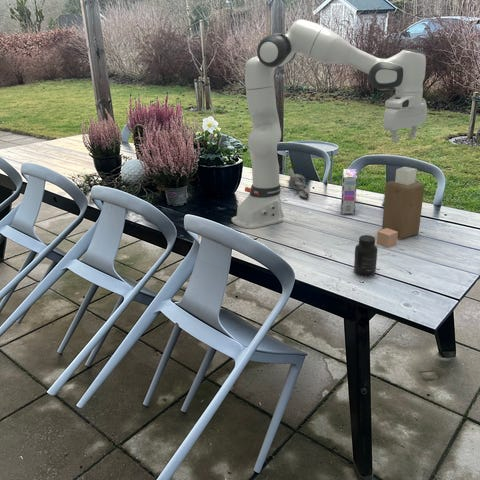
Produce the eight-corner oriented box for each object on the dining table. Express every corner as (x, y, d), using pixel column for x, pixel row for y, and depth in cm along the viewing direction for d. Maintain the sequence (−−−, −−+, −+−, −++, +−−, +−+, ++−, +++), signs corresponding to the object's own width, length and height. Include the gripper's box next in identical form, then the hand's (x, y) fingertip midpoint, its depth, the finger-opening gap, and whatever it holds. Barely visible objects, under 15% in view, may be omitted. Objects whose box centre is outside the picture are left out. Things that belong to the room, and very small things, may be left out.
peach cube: (387, 248, 166) (389, 235, 164) (376, 244, 170) (377, 231, 168) (396, 244, 169) (398, 231, 167) (385, 240, 172) (386, 227, 170)
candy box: (355, 215, 197) (357, 177, 191) (340, 214, 199) (342, 176, 192) (354, 204, 210) (356, 168, 203) (341, 203, 211) (342, 168, 204)
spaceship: (298, 164, 246) (285, 160, 244) (318, 191, 216) (303, 186, 213) (292, 178, 249) (279, 174, 247) (311, 206, 219) (296, 201, 217)
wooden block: (399, 240, 172) (405, 188, 164) (380, 231, 180) (384, 181, 172) (419, 234, 176) (426, 183, 168) (399, 226, 184) (405, 177, 176)
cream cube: (407, 185, 167) (408, 171, 165) (395, 182, 170) (396, 169, 168) (415, 182, 169) (416, 169, 167) (403, 179, 173) (404, 166, 171)
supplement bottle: (350, 268, 153) (353, 234, 148) (371, 266, 154) (374, 232, 149) (357, 277, 147) (359, 242, 142) (378, 276, 147) (381, 241, 142)
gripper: (418, 96, 169) (413, 134, 175) (381, 101, 158) (378, 142, 164) (434, 97, 164) (428, 137, 170) (397, 103, 153) (393, 145, 159)
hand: (403, 140), depth 167 cm, fingers open, 8 cm apart
